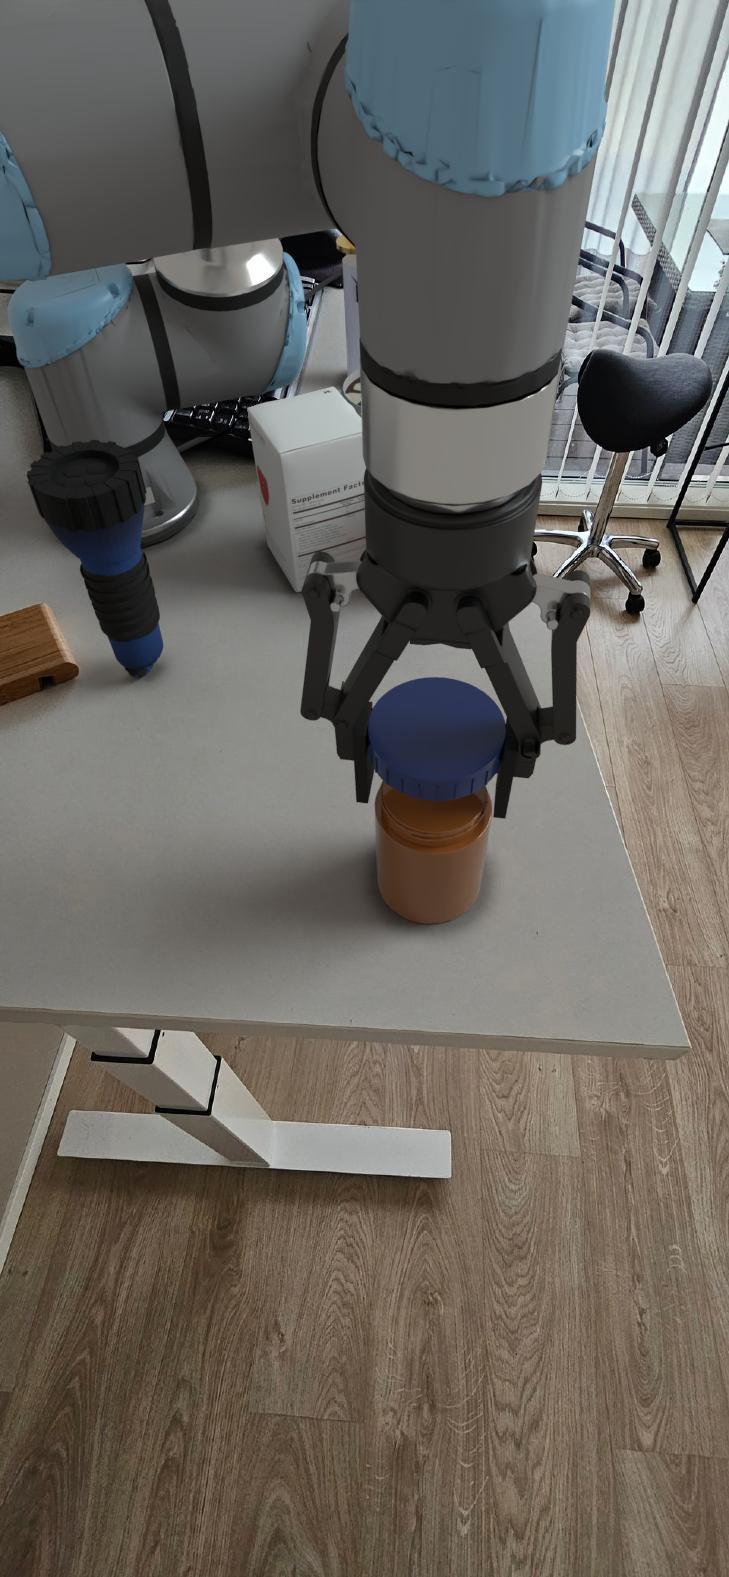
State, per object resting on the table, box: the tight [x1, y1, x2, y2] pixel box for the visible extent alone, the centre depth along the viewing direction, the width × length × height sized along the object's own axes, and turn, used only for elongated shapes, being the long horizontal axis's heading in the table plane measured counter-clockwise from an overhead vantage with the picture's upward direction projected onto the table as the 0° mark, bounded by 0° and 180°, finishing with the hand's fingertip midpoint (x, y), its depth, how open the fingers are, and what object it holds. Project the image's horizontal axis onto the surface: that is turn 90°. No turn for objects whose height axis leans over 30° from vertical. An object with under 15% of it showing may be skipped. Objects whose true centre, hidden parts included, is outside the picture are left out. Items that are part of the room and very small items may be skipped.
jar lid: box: [368, 676, 506, 801], centre depth 48 cm, size 8×8×2 cm
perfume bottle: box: [335, 234, 360, 377], centre depth 99 cm, size 6×6×20 cm
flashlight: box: [26, 440, 164, 679], centre depth 66 cm, size 8×8×20 cm
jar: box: [374, 780, 493, 925], centre depth 55 cm, size 8×8×11 cm
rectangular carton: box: [246, 386, 366, 593], centre depth 78 cm, size 9×9×15 cm
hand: (432, 793), depth 52 cm, fingers closed on jar lid, 8 cm apart
